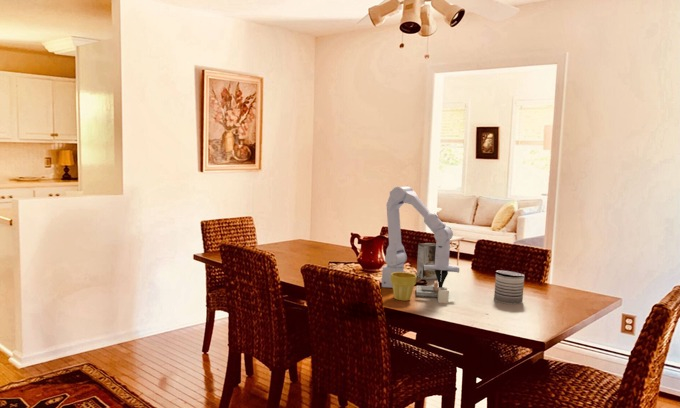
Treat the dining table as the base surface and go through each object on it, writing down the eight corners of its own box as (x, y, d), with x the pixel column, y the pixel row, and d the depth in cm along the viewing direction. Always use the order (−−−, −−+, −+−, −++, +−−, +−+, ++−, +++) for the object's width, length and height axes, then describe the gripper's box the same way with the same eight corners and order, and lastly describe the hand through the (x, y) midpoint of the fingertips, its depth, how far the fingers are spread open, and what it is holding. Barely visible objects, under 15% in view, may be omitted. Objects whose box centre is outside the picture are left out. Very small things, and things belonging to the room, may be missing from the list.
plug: (438, 302, 223) (438, 289, 222) (437, 300, 227) (438, 286, 226) (448, 303, 222) (449, 289, 222) (447, 300, 226) (448, 287, 226)
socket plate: (416, 296, 230) (416, 291, 230) (416, 290, 241) (416, 285, 241) (447, 298, 229) (447, 294, 229) (445, 292, 240) (446, 287, 239)
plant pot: (417, 296, 230) (418, 273, 229) (412, 303, 220) (413, 278, 219) (393, 293, 234) (394, 270, 233) (386, 299, 224) (388, 275, 223)
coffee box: (433, 275, 270) (435, 242, 268) (439, 279, 264) (441, 245, 262) (415, 276, 267) (417, 243, 265) (422, 279, 261) (424, 245, 259)
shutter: (421, 290, 232) (422, 283, 232) (421, 287, 238) (422, 280, 238) (437, 291, 231) (437, 284, 231) (436, 288, 238) (437, 281, 237)
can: (488, 297, 234) (490, 269, 232) (509, 295, 238) (511, 268, 237) (506, 305, 223) (508, 275, 222) (528, 303, 228) (530, 274, 226)
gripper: (424, 256, 230) (422, 289, 231) (460, 259, 228) (458, 291, 229) (424, 253, 237) (422, 284, 238) (459, 255, 235) (457, 287, 236)
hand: (440, 288), depth 234 cm, fingers closed
